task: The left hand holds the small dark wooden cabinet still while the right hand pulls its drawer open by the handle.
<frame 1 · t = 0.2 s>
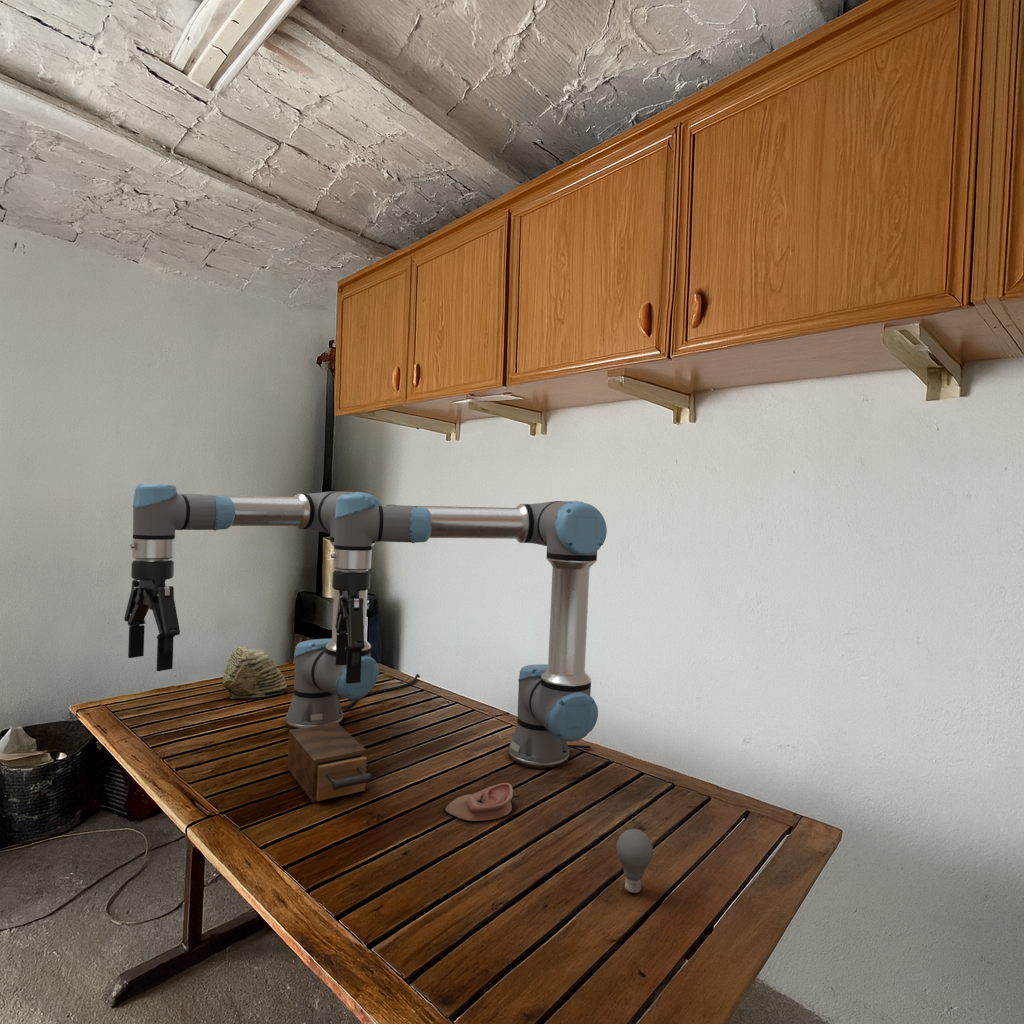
left hand: (149, 663, 129), 28 cm above the table, tool pointing down, fingers open, 13 cm apart
right hand: (347, 673, 130), 27 cm above the table, tool pointing down, fingers open, 13 cm apart
anatomical model: (479, 809, 131), on the table
fossil: (254, 694, 198), on the table
drawer: (333, 768, 137), point 4 cm above the table, slide at 0.7 cm
cabinet: (324, 779, 142), on the table
light bulb: (632, 891, 106), on the table
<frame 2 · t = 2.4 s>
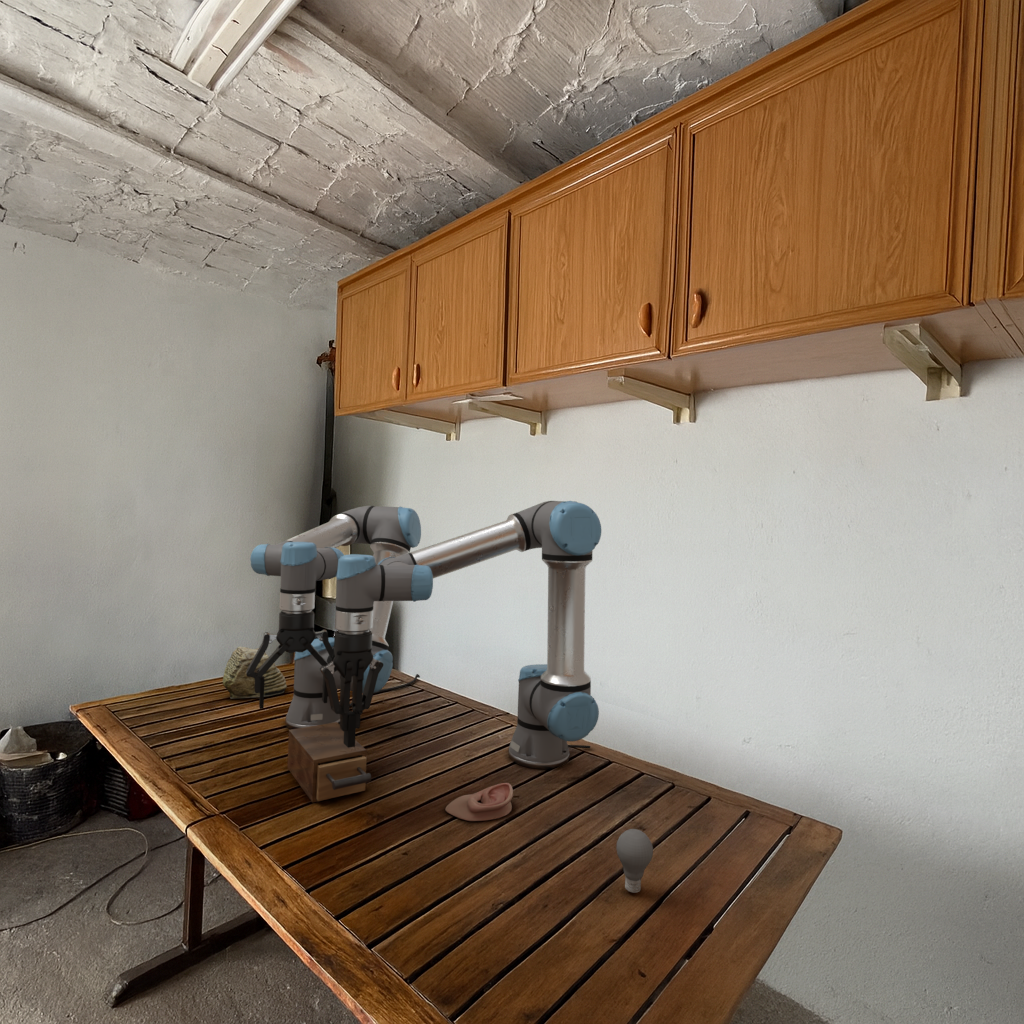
left hand: (293, 704, 143), 16 cm above the table, tool pointing down, fingers open, 13 cm apart
right hand: (349, 744, 130), 13 cm above the table, tool pointing down, fingers closed
nothing on the table moved.
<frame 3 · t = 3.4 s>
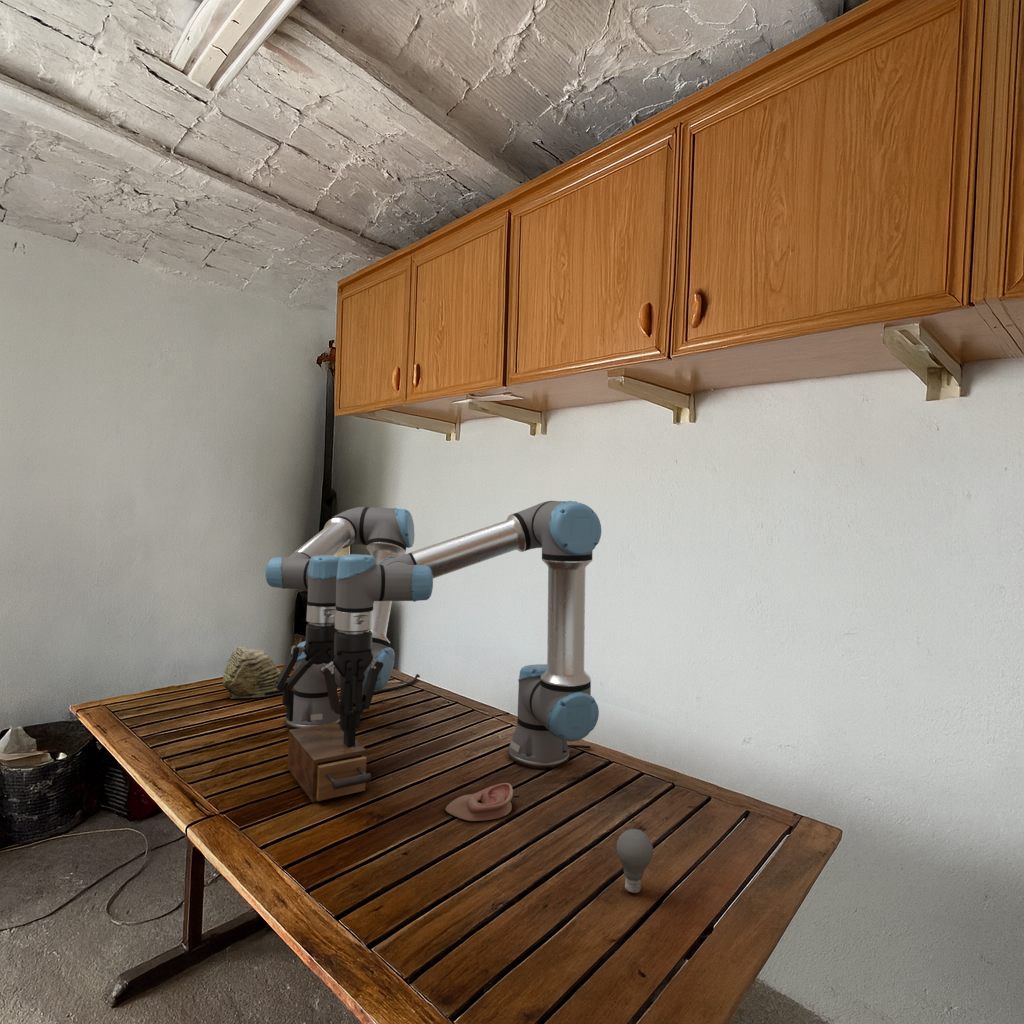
left hand: (319, 715, 146), 13 cm above the table, tool pointing down, fingers open, 13 cm apart
right hand: (349, 744, 130), 13 cm above the table, tool pointing down, fingers closed
nothing on the table moved.
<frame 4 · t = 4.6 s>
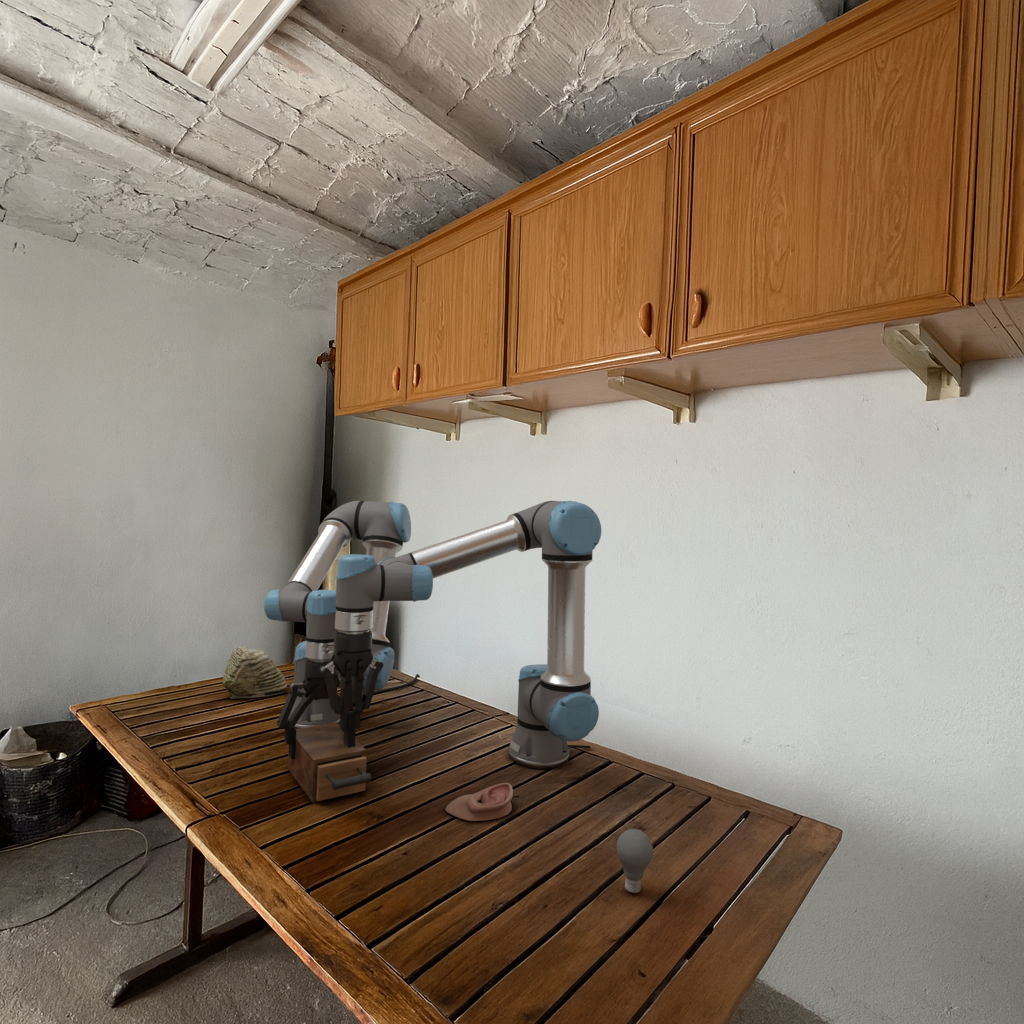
left hand: (318, 752, 146), 4 cm above the table, tool pointing down, fingers closed on cabinet, 11 cm apart
right hand: (349, 744, 130), 13 cm above the table, tool pointing down, fingers closed
cabinet: (324, 779, 142), on the table, touching left hand
everything else where it was.
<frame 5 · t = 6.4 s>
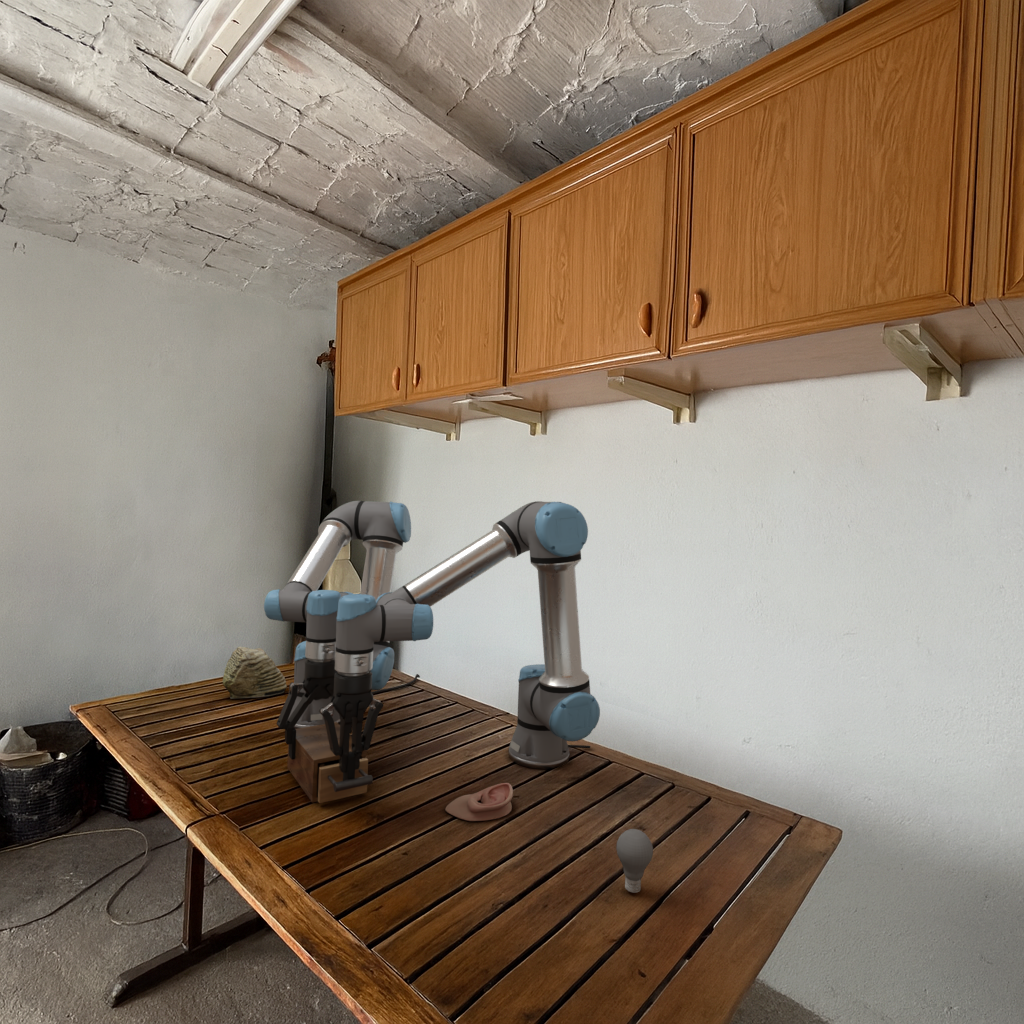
left hand: (318, 752, 146), 4 cm above the table, tool pointing down, fingers closed on cabinet, 11 cm apart
right hand: (348, 785, 129), 5 cm above the table, tool pointing down, fingers closed
drawer: (334, 770, 137), point 4 cm above the table, slide at 1.7 cm, touching right hand
cabinet: (324, 779, 142), on the table, touching left hand
everything else where it was.
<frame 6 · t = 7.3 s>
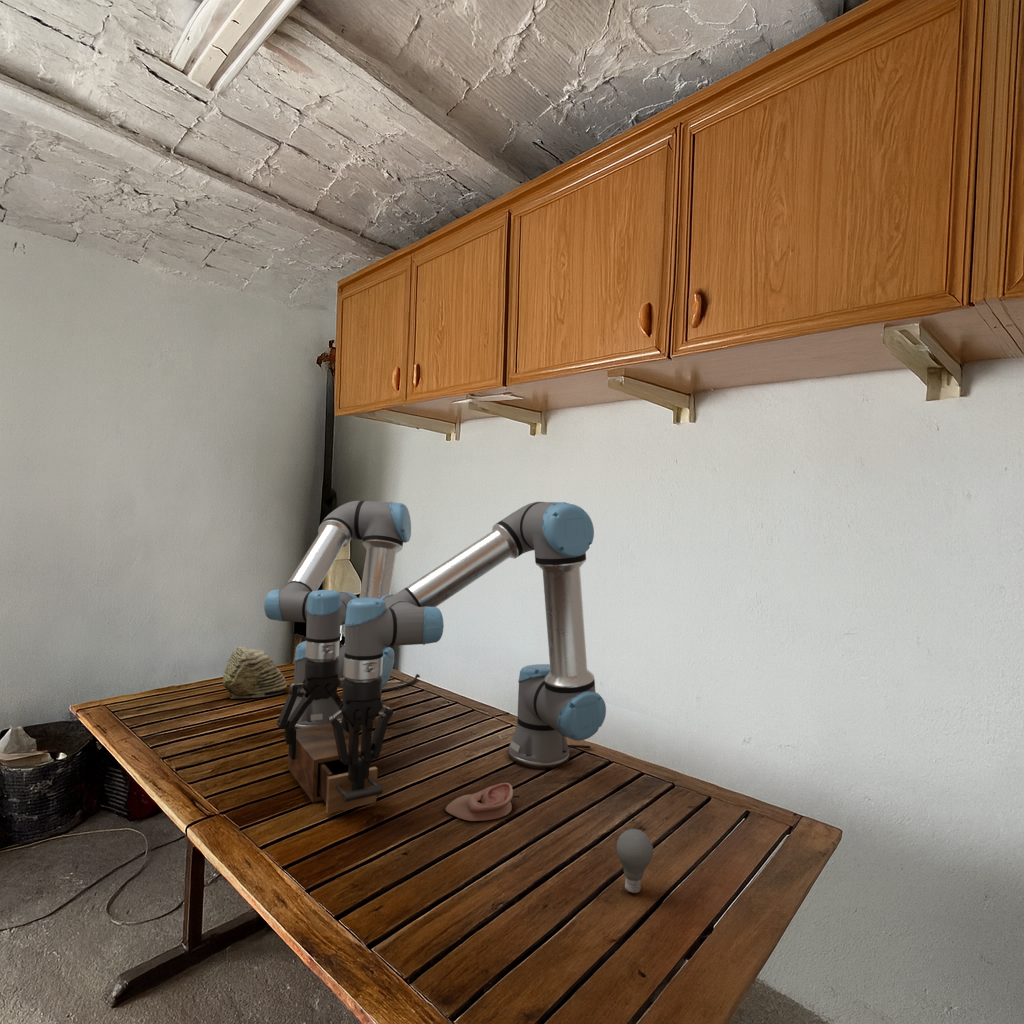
left hand: (318, 752, 146), 4 cm above the table, tool pointing down, fingers closed on cabinet, 11 cm apart
right hand: (357, 795, 125), 5 cm above the table, tool pointing down, fingers closed
drawer: (343, 779, 132), point 4 cm above the table, slide at 6.7 cm, touching right hand
cabinet: (324, 779, 142), on the table, touching left hand
everything else where it was.
when the left hand's fingers open (4 cm above the table, at t = 9.0 s): cabinet stays where it is, on the table.
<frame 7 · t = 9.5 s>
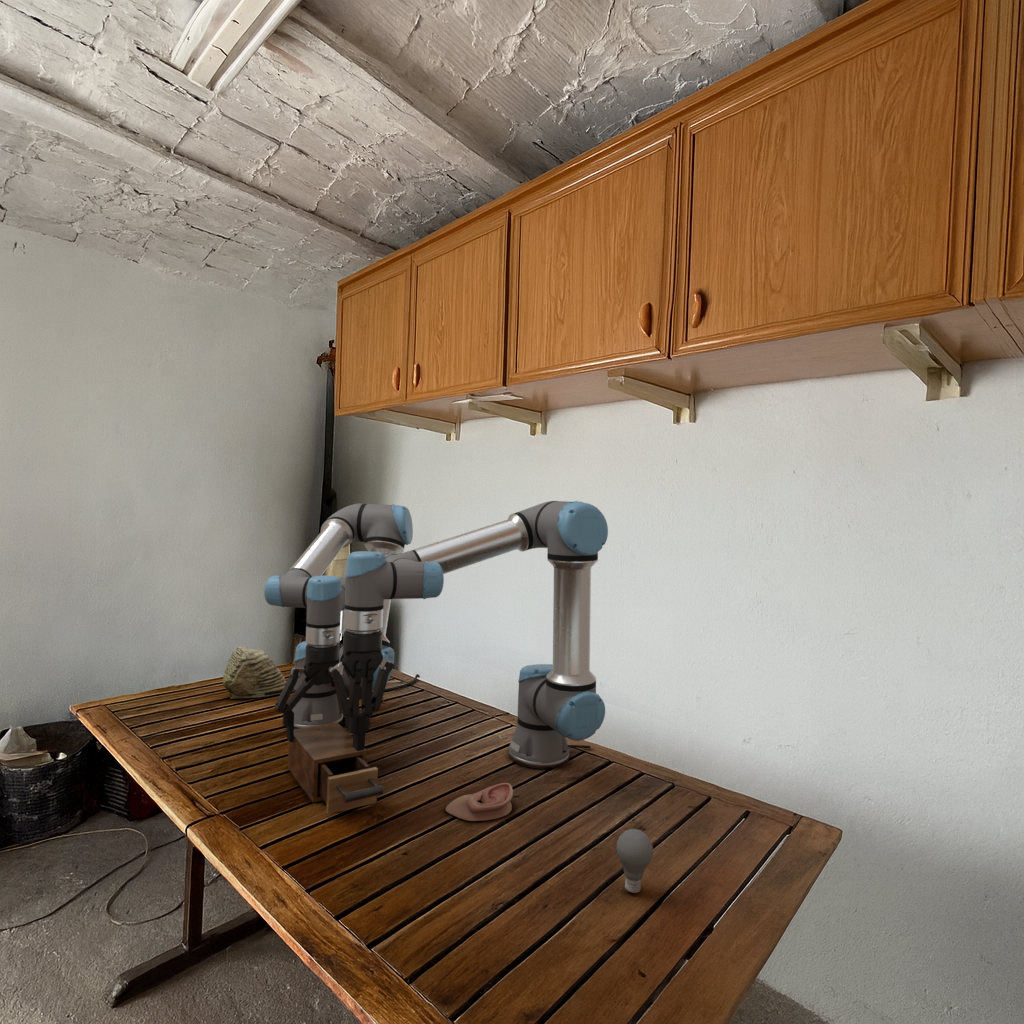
left hand: (320, 734, 147), 8 cm above the table, tool pointing down, fingers open, 13 cm apart
right hand: (358, 748, 126), 14 cm above the table, tool pointing down, fingers closed
drawer: (343, 779, 132), point 4 cm above the table, slide at 6.8 cm
cabinet: (325, 779, 142), on the table
everything else where it was.
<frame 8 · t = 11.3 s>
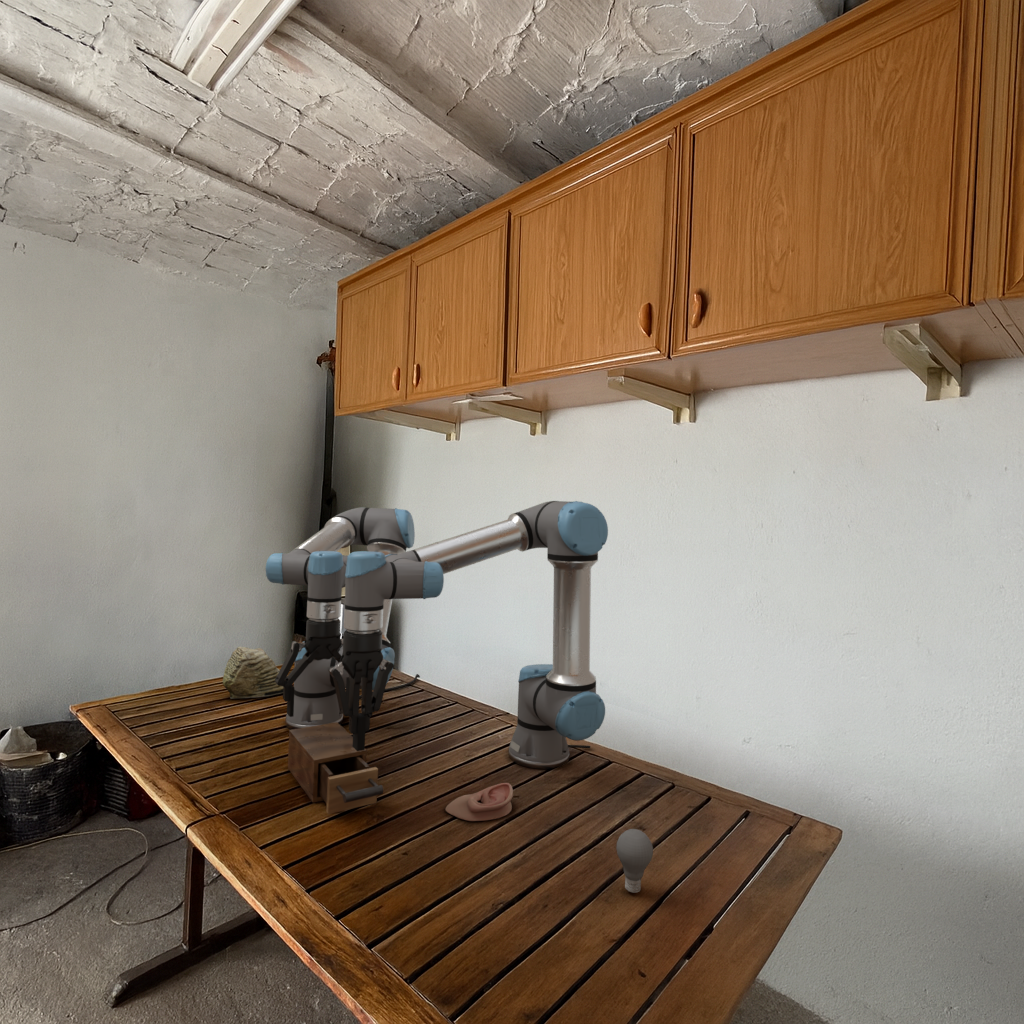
left hand: (320, 710, 146), 14 cm above the table, tool pointing down, fingers open, 13 cm apart
right hand: (358, 748, 126), 14 cm above the table, tool pointing down, fingers closed
nothing on the table moved.
at the end: drawer slide at 6.8 cm; cabinet tilted 0°; cabinet never tilted more than 1° during the clip; cabinet moved 0.1 cm from its start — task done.
